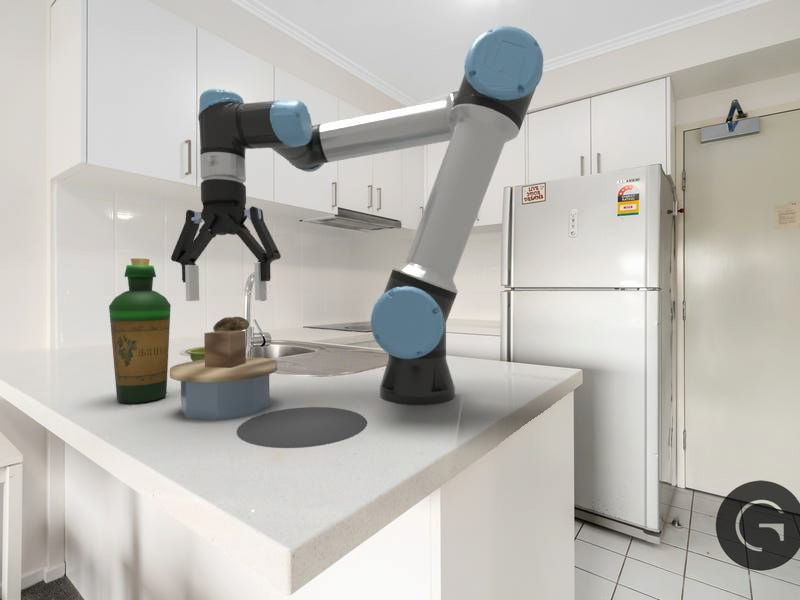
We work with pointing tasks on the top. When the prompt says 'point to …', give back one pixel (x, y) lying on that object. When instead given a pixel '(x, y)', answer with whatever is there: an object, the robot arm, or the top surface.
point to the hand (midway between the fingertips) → (226, 300)
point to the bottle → (140, 337)
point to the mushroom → (231, 324)
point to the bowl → (224, 398)
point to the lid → (223, 361)
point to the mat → (301, 427)
